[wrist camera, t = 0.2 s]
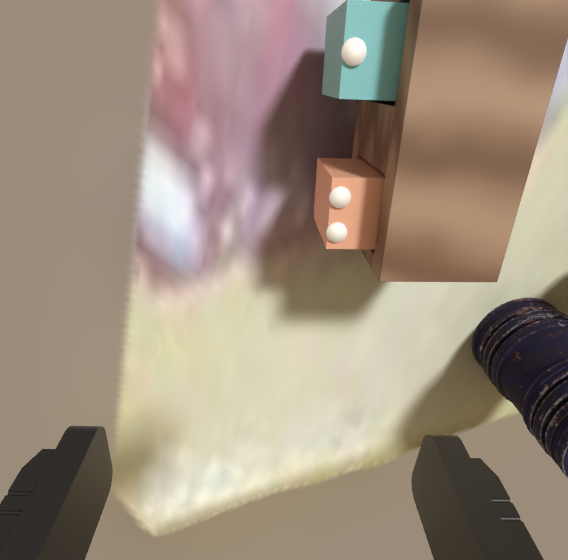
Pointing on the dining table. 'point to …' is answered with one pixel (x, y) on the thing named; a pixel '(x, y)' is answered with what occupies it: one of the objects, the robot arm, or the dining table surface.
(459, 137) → the walnut console
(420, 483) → the robot arm
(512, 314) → the dark blue barrel
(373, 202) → the terracotta button
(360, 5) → the grey-green piece
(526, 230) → the dining table surface
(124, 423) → the dining table surface
